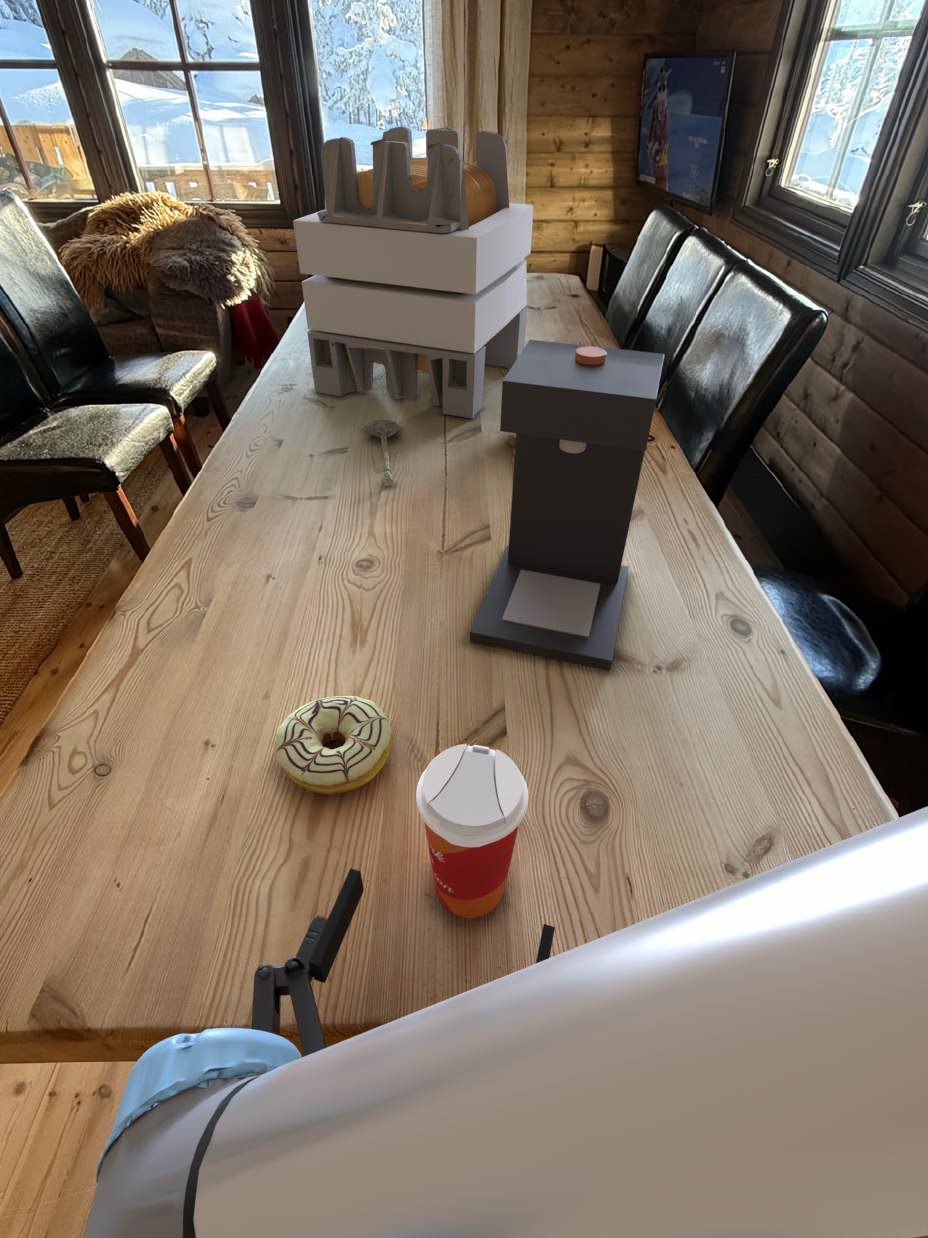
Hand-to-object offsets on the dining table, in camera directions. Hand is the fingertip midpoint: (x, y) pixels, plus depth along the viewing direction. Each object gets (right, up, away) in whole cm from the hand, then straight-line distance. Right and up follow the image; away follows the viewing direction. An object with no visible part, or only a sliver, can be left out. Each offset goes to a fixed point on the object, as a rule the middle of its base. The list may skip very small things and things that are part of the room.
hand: (449, 905), depth 45 cm
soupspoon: (-12, +47, +65) cm, 81 cm away
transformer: (-7, +70, +91) cm, 115 cm away
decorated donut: (-11, +7, +18) cm, 22 cm away
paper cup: (+1, -2, +8) cm, 9 cm away
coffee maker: (+12, +21, +34) cm, 42 cm away
